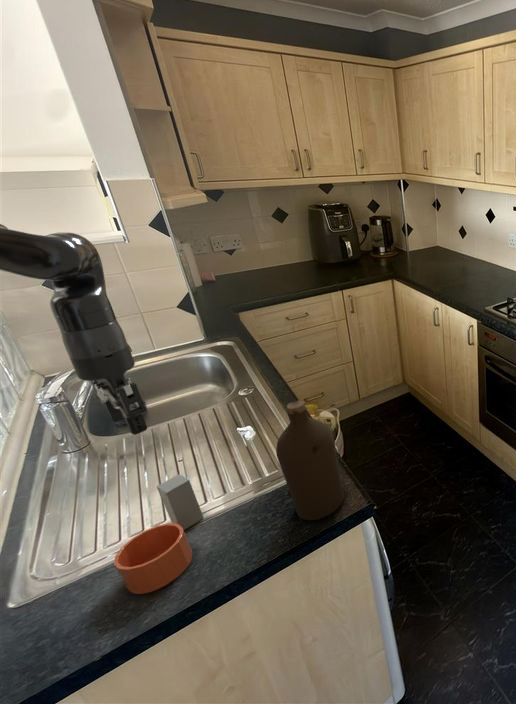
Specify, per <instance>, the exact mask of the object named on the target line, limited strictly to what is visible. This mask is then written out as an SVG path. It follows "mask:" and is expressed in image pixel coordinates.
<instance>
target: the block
mask: <svg viewBox="0 0 516 704" xmlns="http://www.w3.org/2000/svg"><path fill="white" fill-rule="evenodd" d="M156 490H157V491H158V494H159V496H160V499H161V501H162V502H163V505H164V508H165V511H166V513H167V514H168V515H167V516H168V517H169V520H170V521H171V522H170V523H175V524H179V525H180V526H181V527H183V530H184V531H185V530H187V529H188V528H190V527H191V526H193V525H195V524H196V523H198V522H199V521H202V520H203V519H204V515H203V512H202V510H201V507H200V504H199V502H198V499H197V497H196V494H195V492H194V489H193V486H192V484H191V481H190V479H188V478H186V477H185V476H184V475H182V474H180V473H178V474H175V476H173V477H171V478H169V479H167V480H165V481H164V482H162V483H160V484H158V485H156Z"/></svg>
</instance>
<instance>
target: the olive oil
mask: <svg viewBox="0 0 516 704" xmlns="http://www.w3.org/2000/svg"><path fill="white" fill-rule="evenodd" d="M286 410H287V416H288V419H289V423H288V425H287V426H286V427H285V428H284V430H283V431H282V433H280V436H279V437H278V439H277V442H276V449H275V450H276V451H275V452H276V458H277V461H278V464H279V466H280V469H281V471H282V474H283V477H284V479H285V483H286V485H287V487H288V492H287V493H288V495H289V497H290V498H291V499H292V502H293V505H294V509H295V511H296V514H297V516H298V517H299V518H300V519H302V520H304V521H317V520H321V519H323V518H326V517H327V516H330V515H331V514H333V513H335V511H336V510H338V508H340V507H341V505H342V503H343V501H344V497H345V496H344V489H343V484H342V479H341V474H340V467H339V461H338V453H337V448H336V442H335V435H334V433H333V431H332V430H331V428H330V427H329V426H328V425H327V424H326V423H324V422H322V421H320V420H319V419H315V418H312V417H309V413H308V408H307V406H306V403H305V401H304V400H301V399H300V400H299V399H298V400H293V401H291V402H289V403H288V404H287V405H286Z"/></svg>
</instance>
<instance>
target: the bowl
mask: <svg viewBox="0 0 516 704" xmlns="http://www.w3.org/2000/svg"><path fill="white" fill-rule="evenodd" d="M192 560H193V550H192V546H191V544H190V542H189V539H188V537H187V534H186V533H185V530H183V527H181V526H180V525H179V524H175V523H172V522H167V523H162V524H158V525H155V526H152V527H151V528H148V529H146V530H143V531H142V532H140V533H138V534H137V535H135V536H133V537H132V538H131V539H129V540H128V541H127V542H126V543H124V545H122V546H121V548H119V550H118V552H117V553H116V555H115V556H114V561H113V565H114V567H115V569H116V571H117V573H118V575H119V577H120V579H121V582H122V583H123V584H124V586H125V588H126V589H127V591H128V592H130V594H135V595H143V594H148V593H152V592H154V591H157V590H159V589H161V588H163V587H166V586H167V585H168V584H170V583H172V582H174V581H175V580H176V579H177V578H178V577H180V576H181V575H182V574H183V573H184V571H185V570H187V568H188V567H189V565H190V564H191V562H192Z"/></svg>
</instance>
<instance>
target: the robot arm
mask: <svg viewBox="0 0 516 704" xmlns="http://www.w3.org/2000/svg"><path fill="white" fill-rule="evenodd" d="M0 271H1V272H6V273H9V274H13V275H16V276H21V277H26V278H29V279H35V280H42V281H51V284H52V288H53V294H52V296H51V298H50V300H49V306H50V309H51V313H52V315H53V317H54V320H55V323H56V324H57V326H58V329H59V332H60V336H61V339H62V343H63V346H64V348H65V351H66V353H67V355H68V358H69V360H70V362H71V364H72V367H73V369H74V372H75V374H76V376H77V378H78V379H79V380H80V381H85V382H90V383H91V386H92V389H93V391H94V393H95V395H96V399H97V400H98V401H101V405H103V406H105V409H106V411H107V413H108V415H109V418H110V420H111V421H112V422H113V423H118V422H120V421H122V420H125V422H126V424H127V427H128V430H129V433H130V434H132V435H134V436H136V435H139V434H142V433H144V432H145V431H147V430H148V425H147V423H146V421H145V418H144V416H143V414H144V413H147V407H146V406H145V403H144V400H143V399H142V396H141V393H140V391H139V388H138V385H137V383H136V382H134V381H131V379H130V378H129V377H128V378H126V376H125V374H126V373H127V372H128V371H131V370H132V369H133V368H134V367H135V365H136V362H135V360H134V357H133V354H132V352H131V349H130V346H129V344H128V341H127V339H126V335H125V333H124V331H123V329H122V327H121V324H119V323H120V322H118V319H117V317H116V314H115V311H114V309H113V307H112V304H111V301H110V299H109V296H108V295H107V288H106V279H105V273H104V266H103V263H102V258H101V256H100V254H99V251H98V250H97V248H96V247H95V245H94V244H93V243H92V242H91V241H90V240H89V239H87V238H86V237H84V236H82V235H81V234H78V233H75V232H69V231H59V232H54V233H50V234H46V235H42V234H35V233H29V232H24V231H20V230H15V229H10V228H8V227H7V226H6V225H4V224H2V223H0ZM131 405H133V407H134V408H130V406H131Z"/></svg>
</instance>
